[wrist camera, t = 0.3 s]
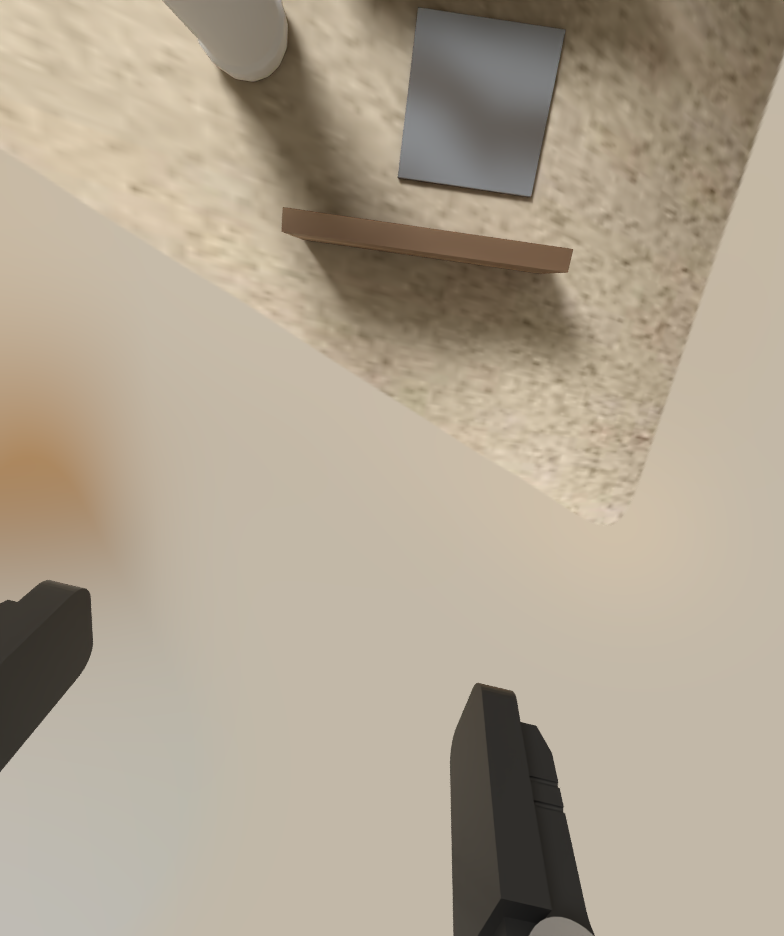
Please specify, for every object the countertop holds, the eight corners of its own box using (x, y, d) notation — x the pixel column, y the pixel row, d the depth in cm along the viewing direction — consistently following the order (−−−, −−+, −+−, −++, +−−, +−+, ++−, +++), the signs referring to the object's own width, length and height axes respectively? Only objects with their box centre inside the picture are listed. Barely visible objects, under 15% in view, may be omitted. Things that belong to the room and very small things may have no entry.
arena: (324, -108, 27) (302, -210, 21) (615, -62, 27) (670, -151, 21) (303, 239, 33) (281, 231, 27) (540, 273, 33) (567, 272, 28)
